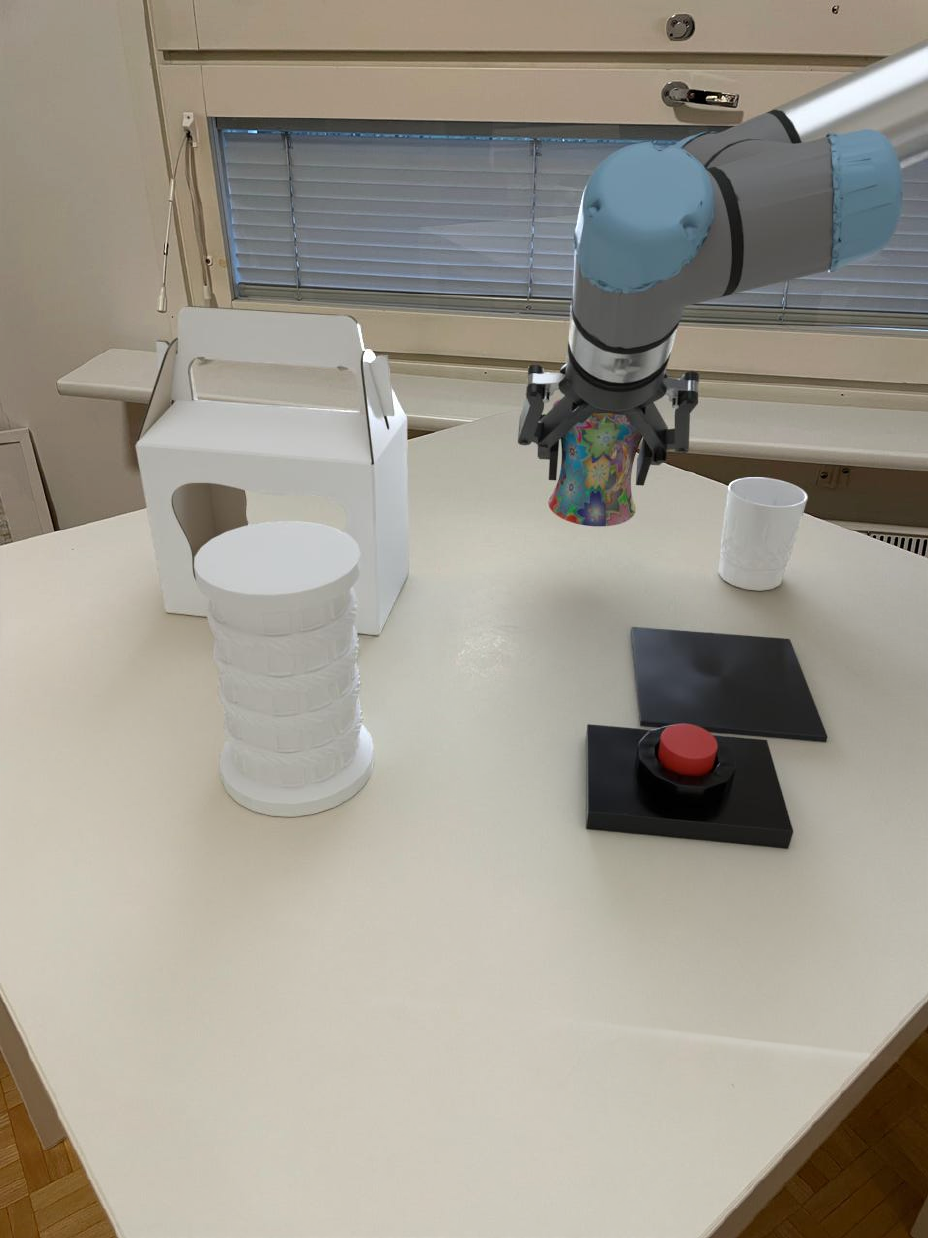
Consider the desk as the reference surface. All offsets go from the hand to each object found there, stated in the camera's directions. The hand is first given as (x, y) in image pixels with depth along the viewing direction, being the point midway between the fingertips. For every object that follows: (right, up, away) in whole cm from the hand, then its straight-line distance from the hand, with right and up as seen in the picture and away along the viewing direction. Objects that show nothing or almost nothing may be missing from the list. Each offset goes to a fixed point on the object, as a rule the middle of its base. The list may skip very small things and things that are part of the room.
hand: (596, 469), depth 85 cm
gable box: (-31, -12, +5) cm, 33 cm away
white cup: (+18, -10, +10) cm, 23 cm away
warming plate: (+10, -20, -8) cm, 24 cm away
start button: (+3, -25, -21) cm, 33 cm away
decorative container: (-26, -26, -18) cm, 41 cm away
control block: (+3, -28, -20) cm, 34 cm away
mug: (0, -5, -1) cm, 5 cm away
